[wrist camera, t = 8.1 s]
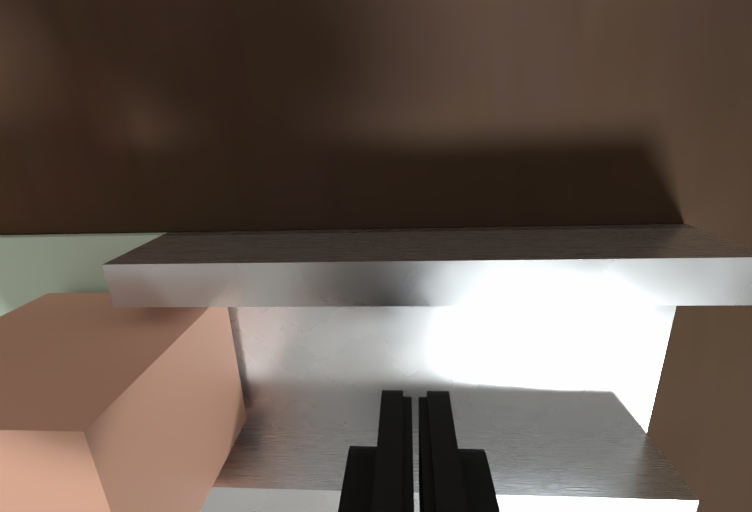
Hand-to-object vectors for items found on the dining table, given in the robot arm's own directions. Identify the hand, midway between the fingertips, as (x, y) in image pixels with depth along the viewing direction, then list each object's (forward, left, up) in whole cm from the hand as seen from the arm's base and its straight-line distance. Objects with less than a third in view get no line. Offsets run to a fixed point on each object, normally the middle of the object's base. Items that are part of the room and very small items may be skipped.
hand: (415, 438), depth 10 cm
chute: (0, 0, -4) cm, 4 cm away
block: (+9, 0, -3) cm, 10 cm away
